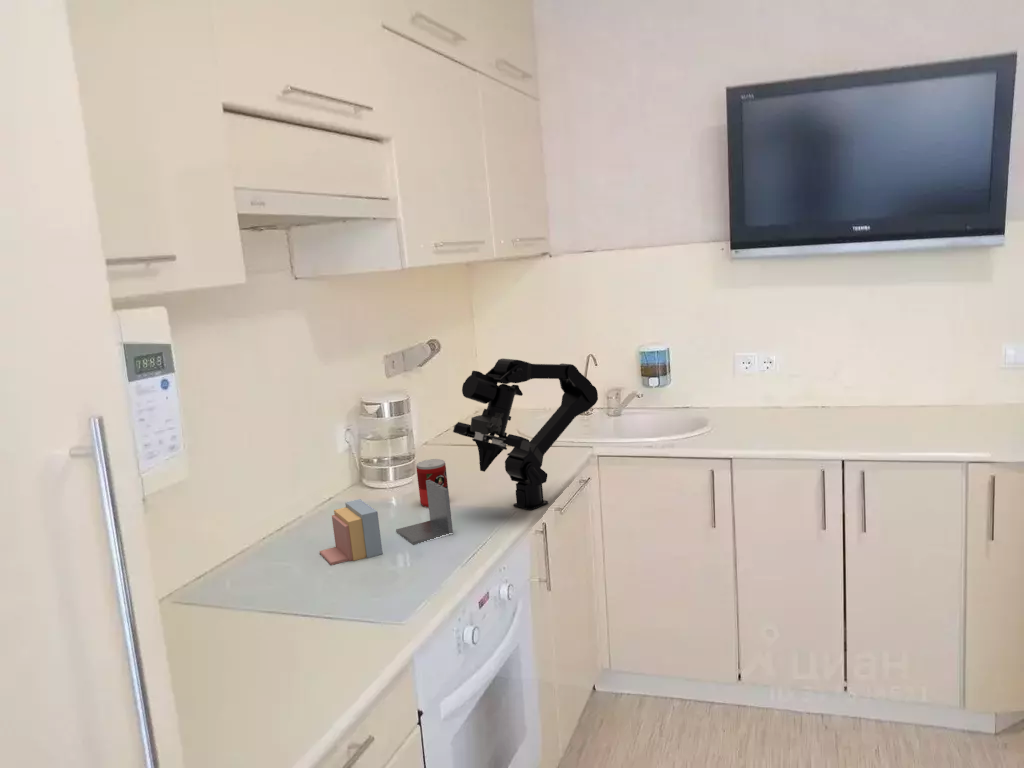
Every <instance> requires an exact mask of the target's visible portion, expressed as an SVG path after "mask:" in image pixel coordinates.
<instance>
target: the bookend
mask: <svg viewBox="0 0 1024 768" xmlns="http://www.w3.org/2000/svg"><path fill="white" fill-rule="evenodd" d="M426 487H427V496H428V505H429V507H428V512H429V513H428V514H429V520H428V521H423V522H419V523H415V524H412V525H407V526H403V527H400V528H396V529H395V533H396V532H397V533H396V534H398V535H399V534H400V535H399V536H401V537H402V538H403V537H404V538H403V539H405V540H406V541H407V540H408V541H407V542H409V543H410V544H412V545H413V546H414V545H419V544H422V543H421V542H423V543H425V542H424V541H426V542H428V541H427V540H430V539H434V538H436V537H440V536H442V535H446V534H449V533H453V534H454V532H453V521H452V520H453V519H452V511H451V501H450V492H449V488H448V489H446V488H445V487H443V486H441V485H439V484H437V483H435V482H433V481H431V480H426ZM434 540H435V539H434ZM430 541H431V540H430ZM418 543H419V544H418Z"/></svg>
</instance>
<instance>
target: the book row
mask: <svg viewBox="0 0 1024 768" xmlns="http://www.w3.org/2000/svg"><path fill="white" fill-rule="evenodd" d="M344 504H345V505H344V506H345V507H342V508H338V509H337V508H336V509H334V510H333V515H331V521H332V528H333V529H332V530H333V535H334V544H335V547H330V548H327V549H323V550H319V555H320V556H322V557H323V558H324V560H325V561H326V562H328V563H329V564H330V565H331V566H333V565H338V564H341V563H345V562H348V561H349V562H352V561H353V562H355V561H359V560H362V559H370V558H373V557H376V556H380V555H383V554H384V553H383V547H382V546H383V545H382V537H381V529H380V521H379V514H378V510H377V509H375V508H373V507H372V506H371V505H369V504H368V503H366V502H365V501H363V500H362V499H360V498H359V499H353V500H350V501H345V502H344Z"/></svg>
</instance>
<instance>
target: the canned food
mask: <svg viewBox="0 0 1024 768" xmlns="http://www.w3.org/2000/svg"><path fill="white" fill-rule="evenodd" d="M415 465H416V477H417V484H418V493H419V501H420V504H421V505H422V507H425V506H426V507H425V508H429V505H428V496H427V487H426V480H431V481H433V482H435V483H437V484H439V485H441V486H443V487H445V488H446V489H448V490H449V485H448V475H447V466H446V460H444V459H440V458H430V459H425V460H421V461H418V462H417V463H416V464H415Z"/></svg>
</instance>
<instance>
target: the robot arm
mask: <svg viewBox="0 0 1024 768" xmlns="http://www.w3.org/2000/svg"><path fill="white" fill-rule="evenodd" d="M534 379H539V380H540V379H541V380H542V379H543V380H546V379H548V380H554V379H555V380H558V381H559V385H560V389H561V390H562V392H563V394H562V396H561V404H560V405H559V407H558V408H557V409H556V411H555V412H554V413H553V414H552V415H551V417H549V419H548V420H547V421H546V422H545V423H544V424H543V426H541V428H540V429H539V430H538V431H537V433H536V434H535V435H534V436H533V437H532V438H531V440H530V439H528V438H525V437H523V436H519V435H514V434H511V433H509V434H508V432H506V429H507V427H508V426H507V425H508V422H509V421H510V422H511V420H512V416H510V414H511V411H512V407H513V403H514V399H515V396H519V397H520V396H523V392H522V390H521V389H520V386H519V385H518V384H519V383H525V382H527V381H530V380H534ZM510 383H511V384H512V385H509V384H510ZM461 392H462V396H463V397H464V398H466V399H469V400H472V401H475V402H478V403H481V404H485V405H486V404H487V407H486V408H484V409H483V411H482V413H481V415H476V416H472V417H471V420H470V424H469V423H465V422H460V421H458V422H457V423H455V425H454V427H453V430H452V433H454V434H457V435H461V436H463V437H468V438H472V441H473V442H475V444H476V446H477V450H478V459H479V470H480V471H481V472H484V473H485V472H486V471H487V469H488V468H489V466H490V465H492V463H493V462H494V460H496V458H497V457H498V456H499V455H500V454H501V453H502V452H503V451H504V450H505V451H507V450H508V447H507V446H509V447H512V450H511V451H510V452H509V453H506V456H507V458H505V460H504V468H505V472H506V473H507V475H508V476H509V478H510V480H511V482H515V498H516V499H515V500H516V503H513V507H516V508H520V509H525V510H529V511H531V510H534V509H537V508H540V507H542V506H544V505H545V506H546V505H547V504H549V501H548V500H545V499H544V491H543V490H544V489H543V484H545V483H547V480H548V473H547V472H546V471H545V470H544V469H542V466H543V460H544V456H545V454H547V451H548V450H549V449H550V448H551V447H552V446H553V445H554V444H555V442H556V441H557V440H558V439H559V438H560V436H561V435H562V434H563V433H564V431H565V430H566V429H567V428H568V427H569V425H571V423H572V422H573V421H574V420H575V418H576V417H578V416H580V415H581V414H584V413H586V412H588V411H589V410H590V409H591V408H593V407H594V406H595V405H596V404H597V403H598V400H599V395H598V390H597V388H596V386H595V385H594V384H592V382H591V381H590V380H589V379H588V378H587V377H586V376H585V375H584V374H583V373H581V372H580V371H579V369H578V367H576V366H575V365H574V364H571V363H570V364H569V363H559V364H557V363H556V364H555V363H553V364H552V363H532V362H528V361H524V360H520V359H514V358H512V359H511V358H499V359H498V360H497V361H496V362H495V365H494V366H493V367H492V368H490V370H488V372H487V373H485V374H484V373H482V372H481V371H478V370H472V371H471V373H470V375H469V376H467V378H466V379H465V381H464V382H463V384H462V389H461ZM507 434H508V435H507ZM490 441H491V442H490Z"/></svg>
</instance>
